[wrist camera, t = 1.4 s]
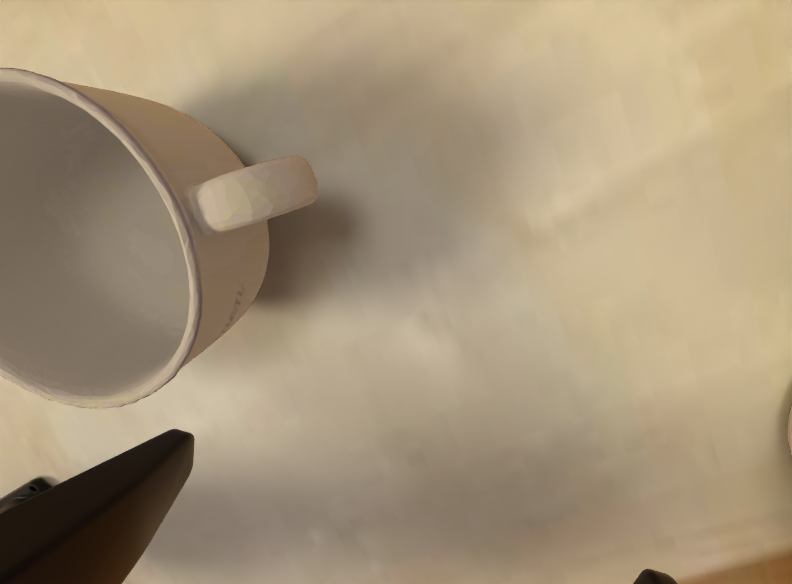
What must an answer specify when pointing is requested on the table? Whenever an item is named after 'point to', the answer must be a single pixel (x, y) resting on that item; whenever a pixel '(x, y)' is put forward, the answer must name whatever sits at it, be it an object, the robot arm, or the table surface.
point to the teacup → (123, 238)
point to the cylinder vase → (790, 430)
